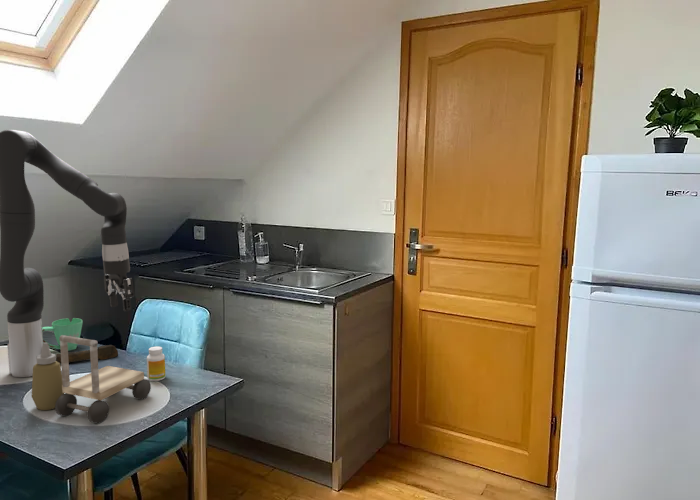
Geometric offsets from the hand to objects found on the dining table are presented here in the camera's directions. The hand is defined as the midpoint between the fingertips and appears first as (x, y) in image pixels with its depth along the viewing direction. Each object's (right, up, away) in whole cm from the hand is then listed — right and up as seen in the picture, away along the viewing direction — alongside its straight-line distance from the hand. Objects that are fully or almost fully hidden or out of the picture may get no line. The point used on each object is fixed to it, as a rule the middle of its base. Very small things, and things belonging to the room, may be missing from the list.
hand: (120, 308), depth 176 cm
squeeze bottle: (-10, -25, -23) cm, 35 cm away
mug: (-30, -17, +23) cm, 42 cm away
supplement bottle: (+12, -22, -1) cm, 25 cm away
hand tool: (-17, -19, +14) cm, 29 cm away
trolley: (+5, -25, -22) cm, 33 cm away
